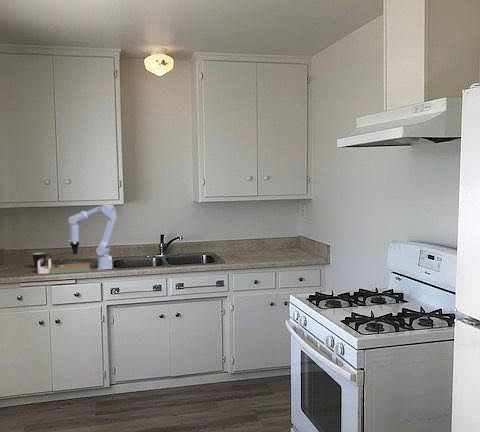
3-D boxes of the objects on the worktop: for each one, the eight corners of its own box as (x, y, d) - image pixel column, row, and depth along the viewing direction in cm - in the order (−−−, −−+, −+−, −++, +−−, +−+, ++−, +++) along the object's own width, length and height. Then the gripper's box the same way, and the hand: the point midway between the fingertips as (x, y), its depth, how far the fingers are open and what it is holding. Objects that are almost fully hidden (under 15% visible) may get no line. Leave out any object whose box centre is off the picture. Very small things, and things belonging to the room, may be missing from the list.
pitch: (89, 268, 345) (89, 256, 345) (89, 271, 334) (89, 258, 333) (39, 271, 335) (38, 259, 335) (37, 274, 324) (37, 261, 323)
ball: (47, 272, 333) (51, 267, 334) (47, 273, 329) (51, 268, 330) (42, 268, 332) (46, 264, 333) (42, 269, 328) (46, 264, 329)
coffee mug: (32, 269, 343) (31, 254, 343) (33, 267, 351) (33, 252, 351) (50, 268, 346) (50, 253, 346) (51, 266, 355) (51, 252, 354)
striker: (63, 268, 337) (62, 256, 337) (62, 269, 331) (62, 257, 331) (58, 268, 336) (57, 256, 336) (58, 269, 330) (57, 257, 330)
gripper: (68, 232, 348) (69, 252, 349) (68, 234, 335) (68, 255, 336) (79, 232, 351) (79, 251, 351) (79, 234, 337) (79, 254, 338)
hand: (75, 253), depth 344 cm, fingers open, 7 cm apart
